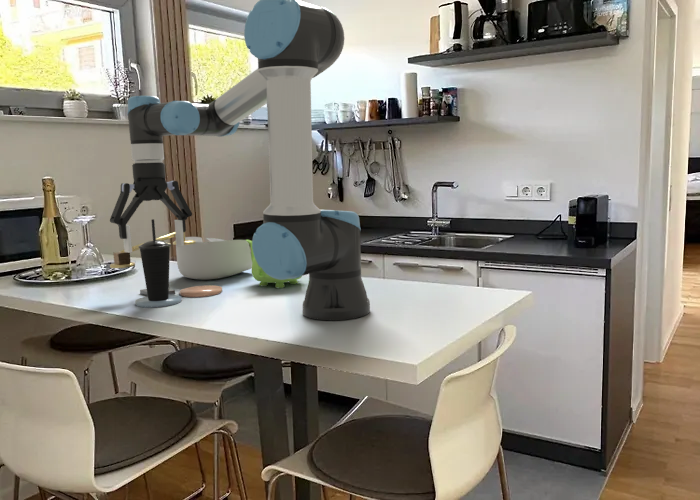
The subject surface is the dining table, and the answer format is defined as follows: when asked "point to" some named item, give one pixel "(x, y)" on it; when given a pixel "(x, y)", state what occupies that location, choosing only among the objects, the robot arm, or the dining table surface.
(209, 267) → the bowl
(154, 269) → the drinking cup
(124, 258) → the balance
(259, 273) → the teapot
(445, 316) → the dining table surface
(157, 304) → the dish low side
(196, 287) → the orange disc
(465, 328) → the dining table surface
